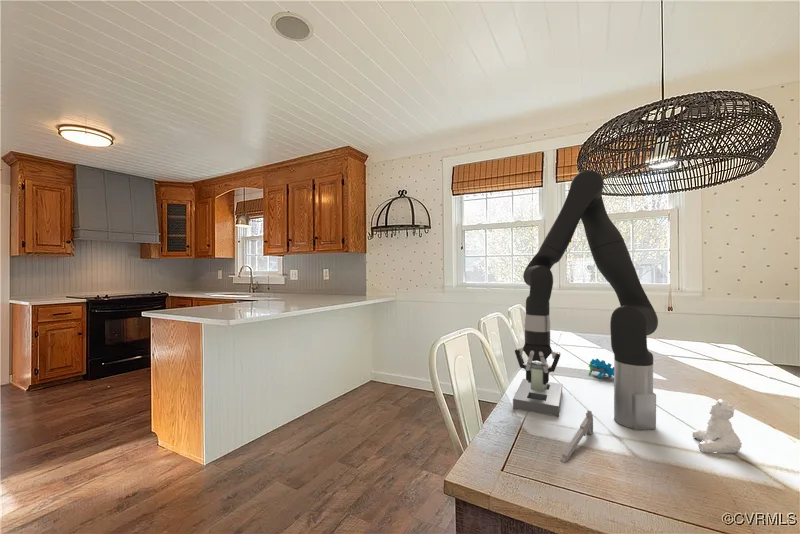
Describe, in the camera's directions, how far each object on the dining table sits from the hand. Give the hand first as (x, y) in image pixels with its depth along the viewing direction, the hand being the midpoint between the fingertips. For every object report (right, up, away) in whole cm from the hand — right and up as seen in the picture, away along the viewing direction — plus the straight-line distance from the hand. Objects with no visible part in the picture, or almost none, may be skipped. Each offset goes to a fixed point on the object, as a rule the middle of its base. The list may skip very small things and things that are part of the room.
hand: (537, 382), depth 113 cm
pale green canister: (0, -2, 0) cm, 2 cm away
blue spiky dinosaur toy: (+37, -7, +29) cm, 48 cm away
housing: (+2, -7, +5) cm, 9 cm away
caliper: (+1, -8, -25) cm, 26 cm away
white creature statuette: (+34, -8, -26) cm, 43 cm away
